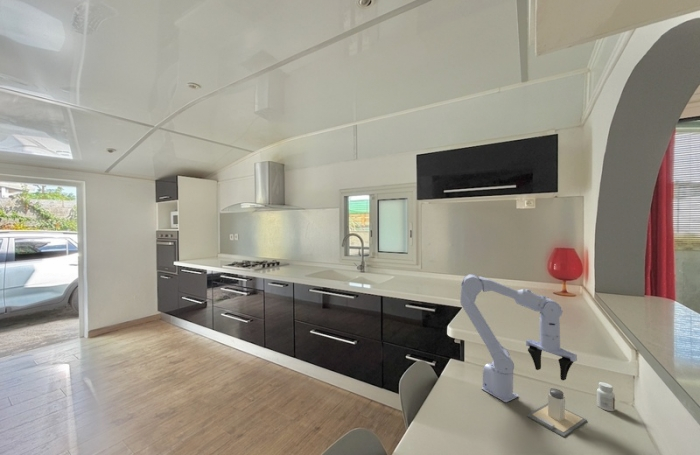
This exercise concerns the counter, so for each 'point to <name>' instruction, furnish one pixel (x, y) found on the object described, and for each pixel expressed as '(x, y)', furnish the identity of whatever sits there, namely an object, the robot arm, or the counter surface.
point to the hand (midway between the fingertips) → (550, 374)
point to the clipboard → (557, 426)
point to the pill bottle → (605, 397)
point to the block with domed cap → (556, 404)
